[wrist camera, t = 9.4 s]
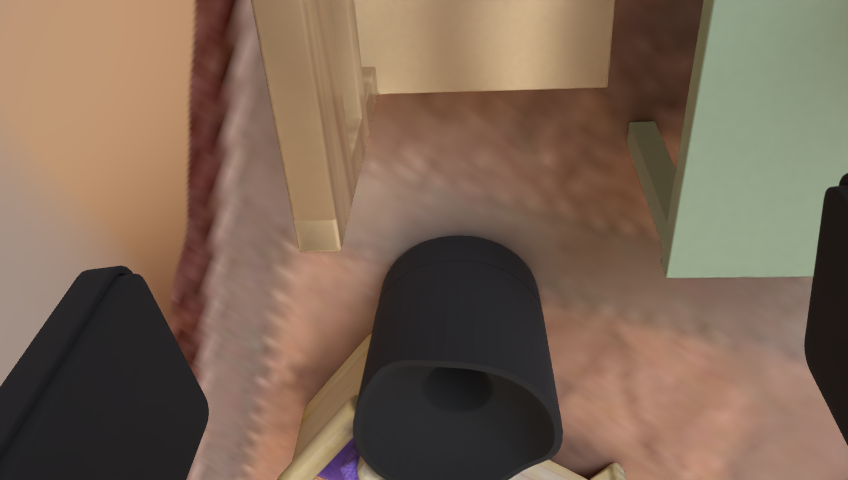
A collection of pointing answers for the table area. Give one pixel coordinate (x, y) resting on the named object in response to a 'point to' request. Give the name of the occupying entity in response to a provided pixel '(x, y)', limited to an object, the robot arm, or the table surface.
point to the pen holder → (457, 368)
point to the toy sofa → (334, 443)
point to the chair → (403, 76)
